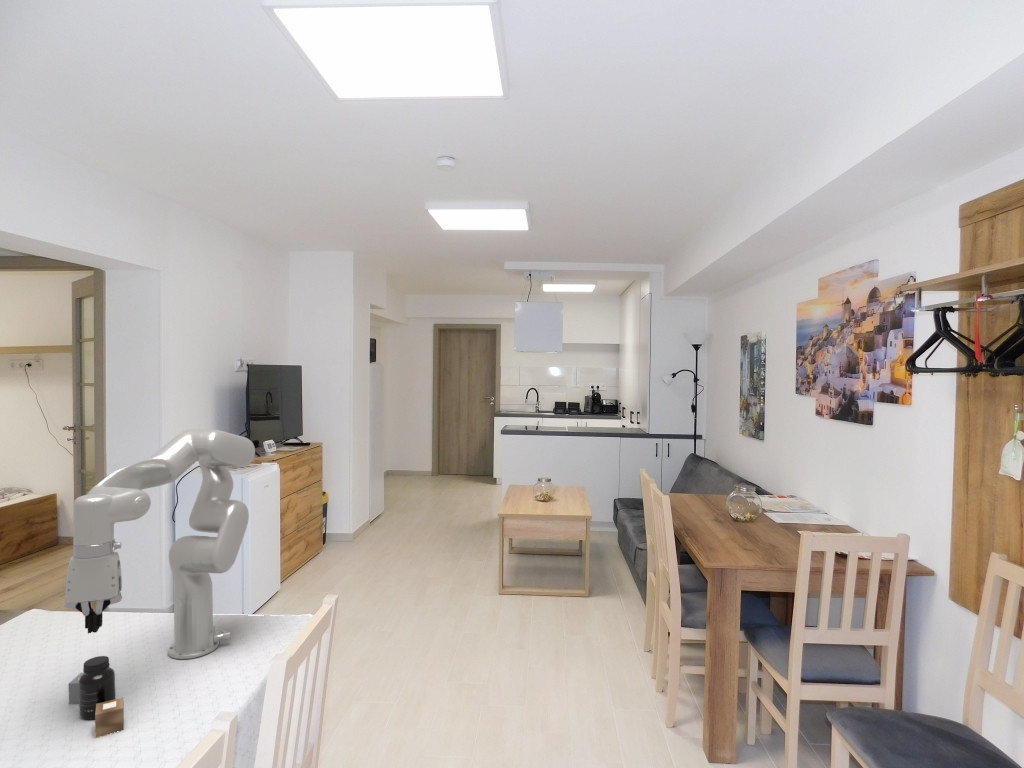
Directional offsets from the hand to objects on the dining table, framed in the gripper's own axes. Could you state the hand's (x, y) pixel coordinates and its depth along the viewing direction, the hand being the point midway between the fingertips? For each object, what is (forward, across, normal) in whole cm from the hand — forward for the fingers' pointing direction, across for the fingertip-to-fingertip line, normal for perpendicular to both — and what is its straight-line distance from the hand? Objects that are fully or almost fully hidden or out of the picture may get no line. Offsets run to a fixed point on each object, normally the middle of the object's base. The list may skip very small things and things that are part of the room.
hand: (93, 630), depth 137 cm
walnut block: (+19, -5, +7) cm, 21 cm away
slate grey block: (+19, +3, -9) cm, 21 cm away
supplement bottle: (+19, -1, -1) cm, 19 cm away
